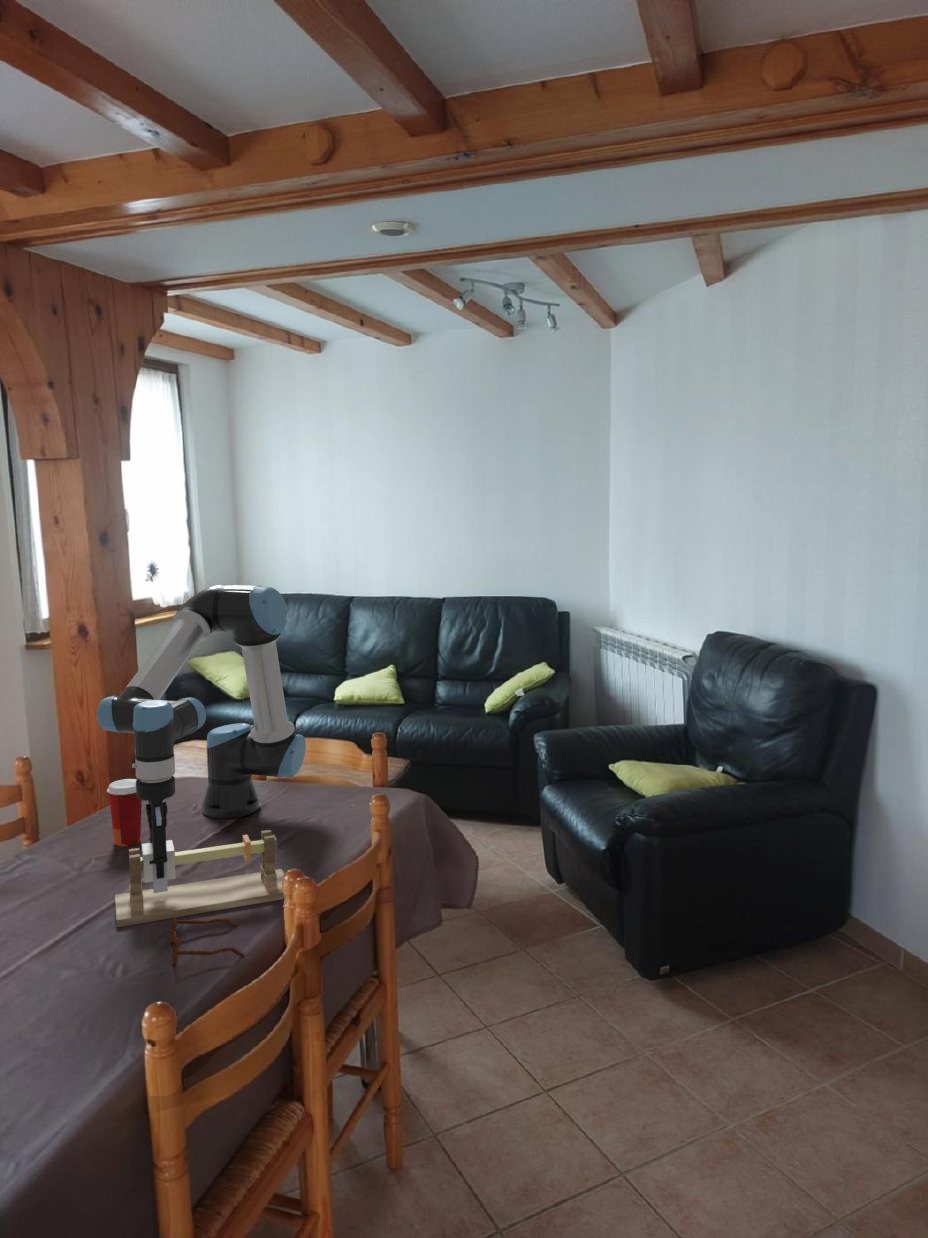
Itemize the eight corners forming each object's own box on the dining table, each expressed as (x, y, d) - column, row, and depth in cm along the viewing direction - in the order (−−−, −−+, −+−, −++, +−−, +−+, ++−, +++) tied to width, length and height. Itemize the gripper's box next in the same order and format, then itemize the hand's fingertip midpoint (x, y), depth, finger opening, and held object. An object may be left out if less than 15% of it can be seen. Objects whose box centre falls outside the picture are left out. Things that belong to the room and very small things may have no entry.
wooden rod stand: (115, 901, 181) (112, 844, 179) (281, 875, 195) (280, 822, 193) (116, 927, 170) (114, 867, 169) (292, 897, 184) (292, 841, 182)
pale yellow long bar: (132, 870, 178) (131, 850, 177) (274, 850, 189) (273, 831, 189) (133, 879, 174) (132, 858, 173) (278, 857, 185) (277, 838, 185)
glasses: (169, 938, 168) (168, 913, 167) (238, 927, 172) (237, 903, 171) (172, 972, 155) (171, 946, 155) (246, 959, 160) (245, 934, 159)
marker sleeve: (142, 871, 180) (141, 844, 179) (173, 867, 182) (172, 839, 181) (144, 883, 174) (143, 855, 173) (175, 878, 177) (174, 850, 176)
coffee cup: (151, 836, 216) (148, 778, 214) (135, 849, 208) (133, 789, 206) (119, 834, 217) (116, 777, 215) (102, 847, 209) (99, 788, 207)
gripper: (133, 765, 182) (137, 869, 186) (138, 794, 165) (142, 907, 168) (170, 762, 185) (174, 864, 189) (178, 789, 168) (182, 901, 171)
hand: (159, 884), depth 178 cm, fingers closed on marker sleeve, 6 cm apart
